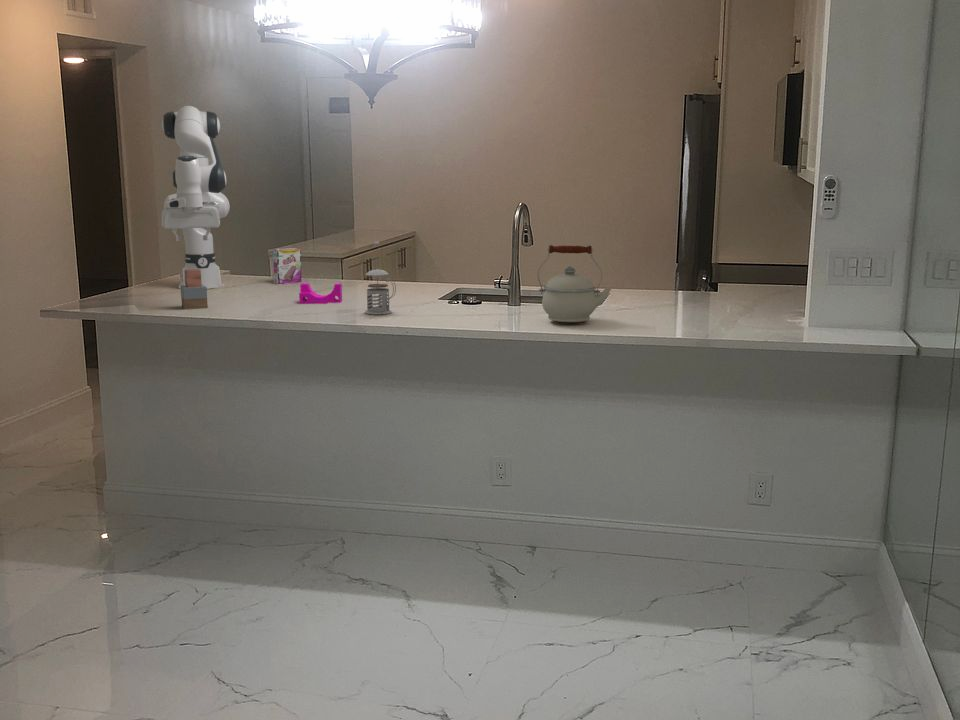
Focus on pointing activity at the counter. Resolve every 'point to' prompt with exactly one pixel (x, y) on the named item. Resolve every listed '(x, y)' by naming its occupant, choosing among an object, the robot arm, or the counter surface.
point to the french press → (378, 290)
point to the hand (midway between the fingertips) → (192, 240)
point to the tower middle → (193, 292)
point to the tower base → (194, 303)
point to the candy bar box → (287, 265)
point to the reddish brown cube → (193, 278)
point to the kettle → (571, 291)
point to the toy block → (319, 299)
